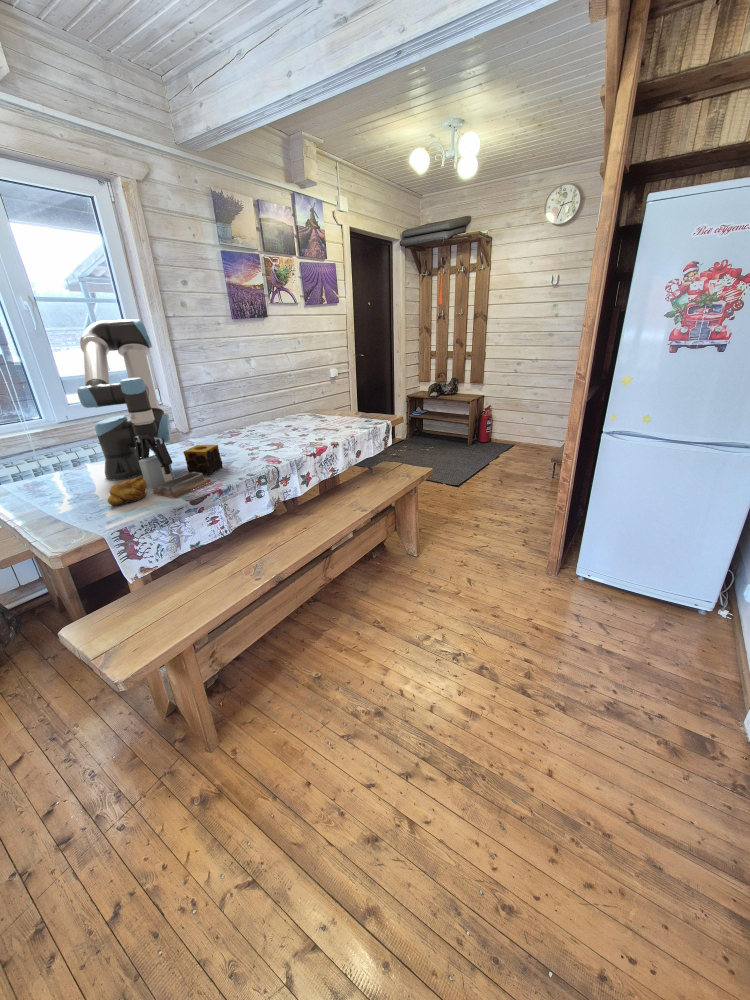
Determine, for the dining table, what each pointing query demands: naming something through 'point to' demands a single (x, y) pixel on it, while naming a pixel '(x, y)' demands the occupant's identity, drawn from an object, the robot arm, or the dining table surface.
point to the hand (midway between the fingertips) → (160, 480)
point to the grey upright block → (153, 472)
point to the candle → (203, 459)
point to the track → (181, 485)
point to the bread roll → (127, 491)
